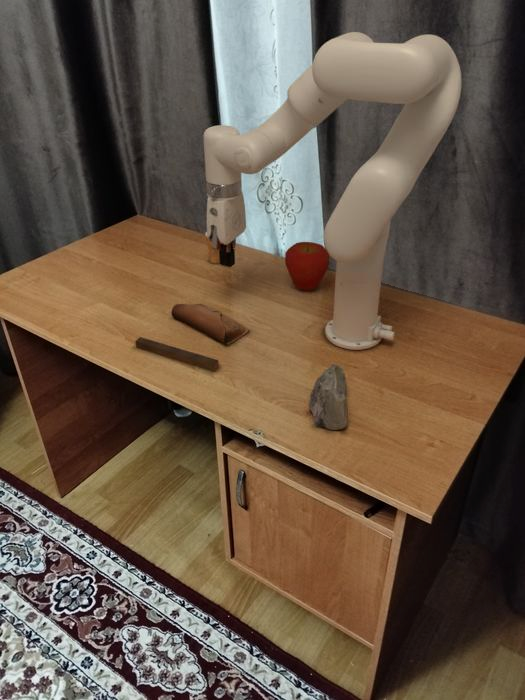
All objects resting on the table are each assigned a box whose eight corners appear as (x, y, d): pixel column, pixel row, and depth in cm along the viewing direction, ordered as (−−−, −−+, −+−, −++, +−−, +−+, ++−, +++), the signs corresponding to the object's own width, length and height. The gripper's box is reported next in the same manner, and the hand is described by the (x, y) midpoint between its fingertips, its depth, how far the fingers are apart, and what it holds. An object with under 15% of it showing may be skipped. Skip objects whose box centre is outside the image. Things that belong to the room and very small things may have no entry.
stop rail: (219, 367, 120) (218, 360, 118) (214, 371, 118) (213, 364, 117) (141, 343, 127) (140, 336, 126) (136, 347, 126) (135, 340, 125)
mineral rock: (329, 379, 115) (332, 338, 109) (376, 401, 110) (381, 359, 104) (289, 413, 107) (290, 370, 102) (337, 438, 102) (340, 395, 96)
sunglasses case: (251, 328, 130) (240, 313, 125) (233, 353, 128) (221, 339, 123) (197, 303, 140) (184, 287, 135) (180, 325, 138) (166, 311, 133)
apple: (278, 282, 149) (278, 238, 142) (316, 274, 152) (317, 231, 145) (295, 302, 140) (296, 257, 133) (335, 293, 143) (337, 249, 136)
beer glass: (203, 259, 160) (200, 225, 155) (221, 256, 162) (219, 222, 156) (206, 266, 157) (204, 231, 151) (225, 263, 158) (223, 229, 152)
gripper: (221, 202, 116) (225, 282, 127) (255, 179, 127) (256, 255, 138) (190, 196, 119) (196, 274, 130) (226, 174, 130) (229, 248, 141)
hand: (227, 264), depth 134 cm, fingers closed
